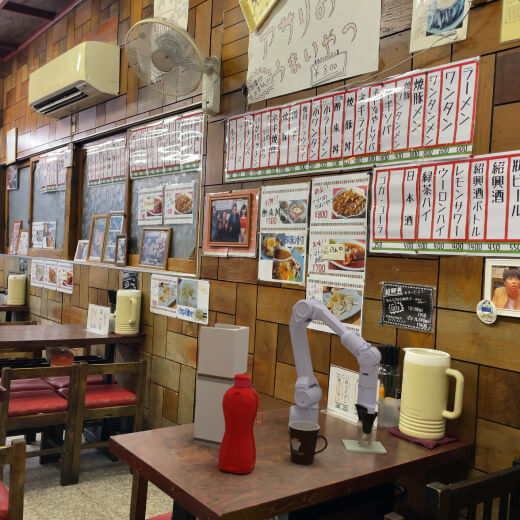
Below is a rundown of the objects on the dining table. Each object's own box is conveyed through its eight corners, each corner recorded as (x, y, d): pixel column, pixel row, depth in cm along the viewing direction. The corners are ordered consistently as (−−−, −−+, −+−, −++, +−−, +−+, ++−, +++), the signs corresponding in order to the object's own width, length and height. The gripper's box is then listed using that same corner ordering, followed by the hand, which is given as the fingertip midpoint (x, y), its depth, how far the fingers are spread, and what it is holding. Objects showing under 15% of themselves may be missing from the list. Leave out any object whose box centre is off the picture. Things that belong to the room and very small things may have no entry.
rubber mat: (347, 451, 163) (347, 449, 163) (342, 441, 172) (342, 439, 172) (386, 453, 164) (386, 451, 164) (379, 443, 173) (379, 441, 173)
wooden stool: (357, 444, 165) (358, 425, 165) (353, 439, 171) (355, 420, 171) (374, 445, 166) (375, 425, 166) (370, 440, 171) (371, 420, 171)
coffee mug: (281, 456, 155) (283, 421, 155) (308, 454, 159) (310, 420, 159) (300, 472, 145) (302, 434, 145) (328, 469, 148) (330, 432, 148)
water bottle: (254, 478, 139) (260, 380, 139) (214, 471, 141) (220, 375, 142) (264, 466, 147) (269, 374, 148) (226, 459, 150) (231, 369, 150)
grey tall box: (242, 440, 167) (249, 327, 167) (227, 450, 157) (235, 330, 157) (209, 434, 171) (216, 323, 171) (193, 443, 161) (200, 326, 162)
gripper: (386, 393, 161) (383, 439, 161) (375, 382, 175) (372, 424, 175) (362, 391, 161) (359, 437, 161) (353, 381, 175) (350, 422, 175)
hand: (364, 430), depth 168 cm, fingers closed on wooden stool, 5 cm apart
